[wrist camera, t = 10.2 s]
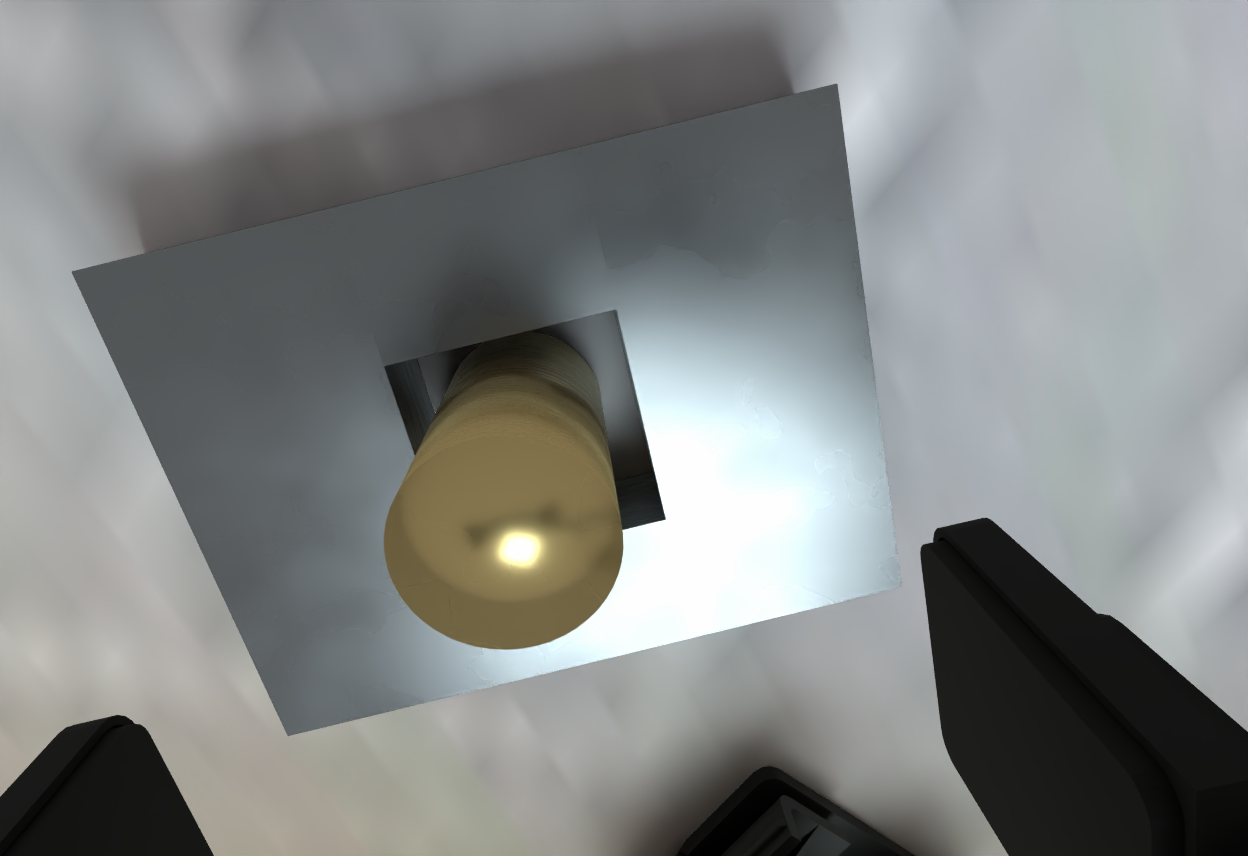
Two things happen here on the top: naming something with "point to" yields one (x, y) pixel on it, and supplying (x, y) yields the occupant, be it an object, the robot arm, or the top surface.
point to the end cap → (784, 824)
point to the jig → (501, 306)
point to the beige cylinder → (509, 500)
